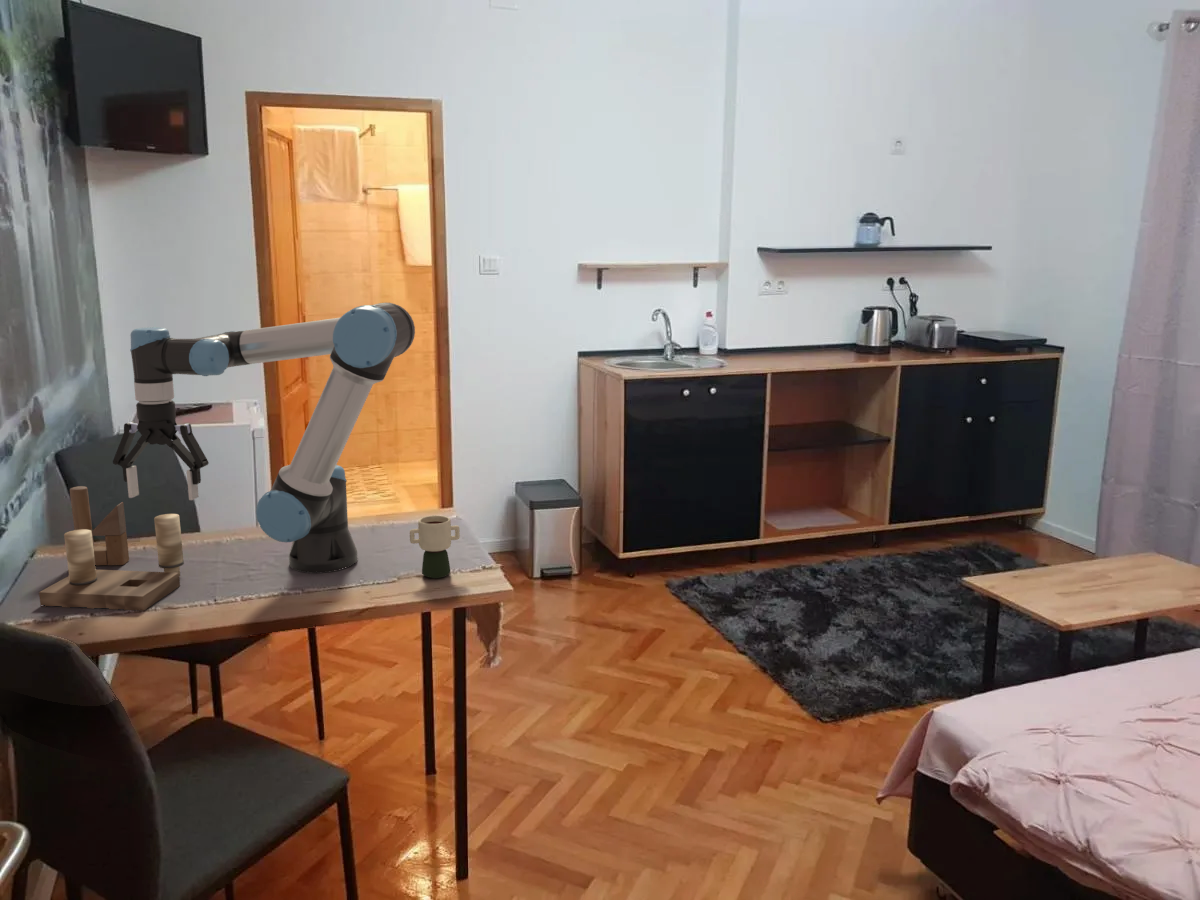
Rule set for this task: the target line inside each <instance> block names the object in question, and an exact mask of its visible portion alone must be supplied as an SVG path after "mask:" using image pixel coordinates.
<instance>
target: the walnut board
mask: <svg viewBox="0 0 1200 900" xmlns="http://www.w3.org/2000/svg"><path fill="white" fill-rule="evenodd" d="M92 531H93V530H92ZM92 531H91V530H87V529H81V530H70V531H66V532H65V533H64V534H63V537H64V545H65V546H64V547H65V552H66V553H65V554H66V561H67V562H66V563H67V571H68V576H66V577H64V578H63V579H60V580H59V581H57V582H55V583H54V584H51V585H49V586H48V587H45V588H44V589H42V590H41V591H38V596H39V603H40V606H41V605H45V606H44V607H46V606H62V607H61V608H70V607H87V608H86V609H94V608H109V609H108V610H118V609H124V610H125V611H142V612H143V611H146V610H147V609H148V608H150V607H151V606H153V605H155V604H156V603H158V602H159V601H160V600H162V599H163V598H165V597H166V596H167V595H170V593H172V592H174V591H175V590H176V589H178V588H180V586H181V581H180V576H179V573H174V572H164V571H147V570H146V571H145V570H144V571H142V570H117V569H116V570H115V569H113V570H112V569H96V566H97V565H96V566H95V558H94V549H93V540H94V539H93V540H92ZM124 610H123V611H124Z"/></svg>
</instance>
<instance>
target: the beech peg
mask: <svg viewBox="0 0 1200 900" xmlns="http://www.w3.org/2000/svg"><path fill="white" fill-rule="evenodd" d="M153 520H154V530H155V540H156V550H157V558H158V568H160V569H163V572H174V573H179V577H180V576H181V568H180V567H182V566H183V565H184V564H185V562H184V553H183V542H182V530H181V522H180V520H181V519H180V515H179V514H178V513H165V514H159V515H156V516H155V517H154V519H153Z"/></svg>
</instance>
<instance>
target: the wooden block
mask: <svg viewBox="0 0 1200 900" xmlns="http://www.w3.org/2000/svg"><path fill="white" fill-rule="evenodd" d="M69 496H70V503H71V504H70V506H71V512H72V513H71V515H72V521H73V529H74V530H81V529H87V530H91V531H92V540H93V549H94V558H95V565H96V566H124V565H126V563H128V562H129V561H130V556H129V543H128V537H127V536H128V535H127V525H126V516H125V507H124V506H125V505H124V502H123V501H122V502H120V503H118V504H117V505H116V506H115V507H114V508H112V510H111V511H110V512H109V513H108V514H107V515H106V516H105V517H104V518H103V519H102V521H100V523H99V524H98V525H96V527H94V528H93V525H92V515H91V507H90V499H89V496H90V495H89V489H88V487H87V486H84V485H80V486H79V485H78V486H73V487H70V488H69ZM98 536H99V537H100V536H101V537H102V536H104V539H105V546H101V545H99V546H95V542H94V537H98Z"/></svg>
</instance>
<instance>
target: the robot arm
mask: <svg viewBox="0 0 1200 900" xmlns="http://www.w3.org/2000/svg"><path fill="white" fill-rule="evenodd" d="M415 334H416V326H415V323H414V320H413V318H412V315H410V313H409V312H408V311H407V310H406V308H403V307H402V306H400V305H399V304H396V303H393V302H380V303H376V304H364V305H360V306H356V307H354V308H352V309H350V310H349V311H347V312H345V313H344V314H343V315H341V316H340V317H336V318H335V317H333V318H328V319H321V320H312V321H305V322H304V321H303V322H297V323H289V324H283V325H276V326H267V327H261V328H260V327H259V328H252V329H246V330H240V331H235V330H233V331H232V330H231V331H225V332H223V333H218V334H213V335H207V336H203V337H202V336H201V337H197V338H174V337H171V335H170V331H169V330H168V329H167V328H166V327H154V326H153V327H139V328H134V329H133V330H131V332H130V353H131V354H130V355H131V361H132V368H133V369H132V370H133V384H134V395H135V397H134V398H135V401H137V402H136V405H135V406H136V408H135V409H136V417H137V420H138V423H136V422H135V421H133V420H132V421H129V422H125V423H124V425H123V435H122V437H121V439H120V443H119V444H118V447H117V450H116V452H115V454H114V457H113V460H112V464H113V465H117V466H120V467H121V468H122V475H123V476H122V477H123V481H124V482H125V483H127V491H128V492H127V494H128V498H129V499H133V498H135V497H137V496H140V490H139V481H138V480H139V479H138V469H137V465H134V462H136V460H137V459H138V458H139V456H140V455H141V454H142V453H143V451H144V450H145V448H146V447H147V446H148V445H160V446H161V445H163V446H164V445H167V446H168V447H169V448H171V449H172V450H173V452H175V454H176V455H177V456H178V457H179V458H180V459H181V460H182V462H184V464H185V465H186V467H187V468H189V469H188V470H186V476H187V477H186V479H187V493H188V500H189V501H194V500H196V499H197V498H199V484H201V481H202V477H201V476H202V475H201V469H202V468H204V467H206V466H208V465H209V464H210V463H209V460H208V458H207V457H206V454H204V451H203V450H202V448H201V446H200V444H199V442H198V440H197V439H196V437H195V435H194V434H193V433H194V432H193V430H192V425H191V423H189V422H187V423H184V424H177V421H176V418H177V414H176V413H177V412H176V403H175V401H174V398H175V393H174V392H175V391H174V379H173V375H189V376H190V375H191V376H202V377H209V376H220V375H222V374H224V373H225V371H226V370H227V369H228V368H233V367H241V366H246V365H247V366H248V365H252V364H262V363H271V362H277V361H286V360H294V359H301V358H302V359H304V358H311V357H319V356H327V355H329V359H330V361H331V363H332V365H333V367H332V369H331V372H330V373H329V376H328V379H327V381H326V383H325V386H324V388H323V390H322V393H321V395H320V397H319V399H318V402H317V403H316V406H315V408H314V410H313V413H312V414H311V417H310V420H309V422H308V424H307V427H306V429H305V431H304V432H303V434H302V435H303V436H302V437H301V439H300V442H299V444H298V446H297V447H296V448H297V449H296V451H295V453H294V456H293V458H292V460H291V462H290V464H288V465H284V466H283V467H281V468H280V469H279V471H278V473H277V476H276V478H275V480H274V482H273V484H272V486H271V489H270V491H267V492H265V493H264V494H263V495H262V496H261V497H260V498H259V500H258V502H257V504H256V506H255V508H256V509H255V517H256V521H257V522H258V524H259V527H260V529H261V530H262V531H263V533H265V534H266V536H268V537H269V538H271V539H273V540H274V541H277V542H281V543H292V544H291V548H290V552H289V556H288V560H289V562H288V563H289V567H290V568H291V569H292V570H294V571H297V572H301V573H308V574H310V573H312V574H315V573H316V574H317V573H318V574H319V573H320V572H322V573H330V572H329V571H331V572H335V571H334V570H337V571H340V570H339V569H341V570H343V569H342V568H344V569H346V568H345V567H347V568H349V567H348V566H350V565H352V564H353V563H355V562H356V561H357V562H358V560H357V559H359V558H358V549H357V546H356V544H355V542H354V540H353V537H352V533H351V532H350V529H349V521H348V500H347V499H348V497H347V495H348V494H347V480H348V479H346V471H345V469H344V467H342V466H341V465H338V462H339V460H340V458H341V455H342V453H343V451H344V449H345V447H346V444H347V442H348V441H349V438H350V437H351V433H352V432H353V429H354V427H355V425H356V423H357V421H358V418H359V416H360V415H361V412H362V409H363V407H364V405H365V403H366V401H367V399H368V396H369V394H370V392H371V390H372V388H373V386H374V385H375V384H377V383H380V382H383V381H384V380H385V377H386V375H387V373H388V371H389V369H390V366H391V365H392V363H393V361H394V359H395V358H397V357H399V356H400V355H403V354H404V353H406V351H407V350H409V348H410V347H411V346H412V344H413V342H414V340H415V337H416V335H415ZM137 432H139V433H140V437H139V438H138V439H137V441H136V444H135V445H134V446H133V447H132V449H131V450H130V447H131V445H132V442H133V440H134V438H135V434H136V433H137ZM177 432H178V434H179V435H181V439H182V440H183V442H182V440H181V439H180V437H179V436H178V435H177ZM184 443H185V445H184ZM129 450H130V451H129ZM357 562H356V563H357ZM356 563H355V564H356ZM353 565H354V564H353ZM353 565H352V566H353ZM350 567H351V566H350Z"/></svg>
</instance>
